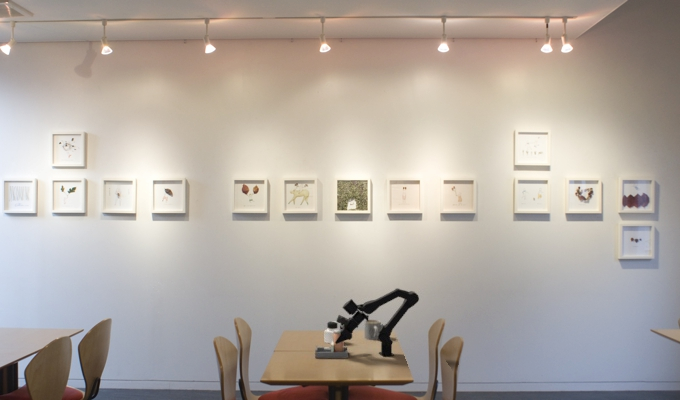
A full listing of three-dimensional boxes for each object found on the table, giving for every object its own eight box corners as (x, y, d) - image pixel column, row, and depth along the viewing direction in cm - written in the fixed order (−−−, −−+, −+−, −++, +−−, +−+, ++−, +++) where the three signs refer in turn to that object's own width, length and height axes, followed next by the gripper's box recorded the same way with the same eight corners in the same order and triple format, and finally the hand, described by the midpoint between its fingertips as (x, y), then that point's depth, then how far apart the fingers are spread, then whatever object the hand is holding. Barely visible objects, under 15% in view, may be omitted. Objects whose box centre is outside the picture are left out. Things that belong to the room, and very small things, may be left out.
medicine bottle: (333, 344, 276) (333, 324, 276) (324, 342, 280) (324, 322, 280) (340, 341, 281) (340, 321, 282) (331, 339, 286) (331, 320, 286)
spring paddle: (333, 351, 259) (333, 341, 259) (333, 355, 252) (333, 345, 252) (324, 351, 259) (323, 341, 259) (323, 355, 252) (323, 345, 252)
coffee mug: (364, 335, 295) (364, 319, 295) (380, 335, 295) (379, 319, 295) (365, 341, 282) (365, 324, 282) (382, 341, 282) (382, 324, 282)
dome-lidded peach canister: (346, 353, 256) (345, 329, 257) (340, 356, 252) (339, 332, 252) (337, 352, 260) (337, 328, 260) (331, 354, 255) (331, 330, 255)
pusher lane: (347, 352, 260) (347, 345, 261) (348, 357, 251) (348, 350, 251) (315, 352, 260) (315, 345, 260) (315, 358, 250) (315, 350, 250)
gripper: (344, 306, 265) (325, 326, 265) (345, 314, 247) (324, 335, 246) (358, 320, 265) (339, 340, 265) (360, 329, 247) (339, 350, 246)
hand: (335, 341), depth 256 cm, fingers open, 7 cm apart
